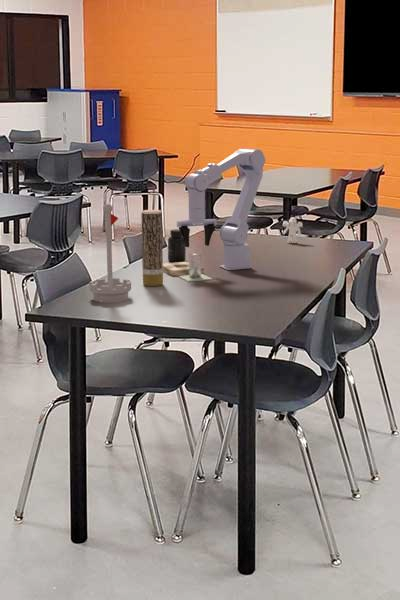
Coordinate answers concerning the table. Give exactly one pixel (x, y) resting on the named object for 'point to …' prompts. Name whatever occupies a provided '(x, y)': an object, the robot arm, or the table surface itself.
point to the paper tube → (152, 247)
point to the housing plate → (178, 268)
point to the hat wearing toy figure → (292, 228)
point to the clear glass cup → (194, 265)
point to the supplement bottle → (176, 247)
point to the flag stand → (110, 271)
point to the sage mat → (202, 278)
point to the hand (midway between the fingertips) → (197, 246)
